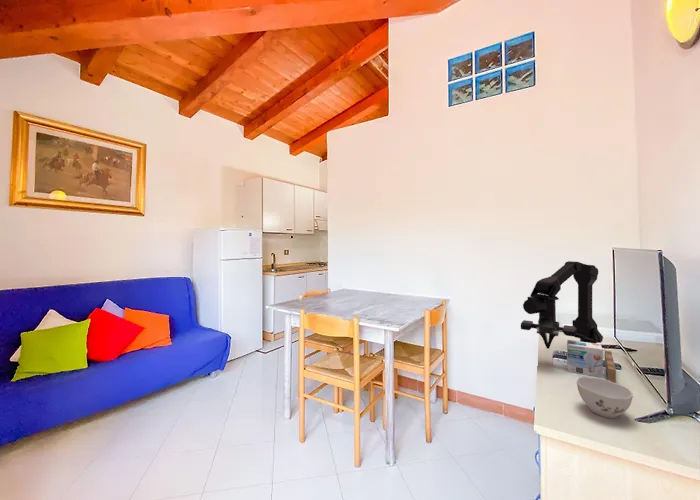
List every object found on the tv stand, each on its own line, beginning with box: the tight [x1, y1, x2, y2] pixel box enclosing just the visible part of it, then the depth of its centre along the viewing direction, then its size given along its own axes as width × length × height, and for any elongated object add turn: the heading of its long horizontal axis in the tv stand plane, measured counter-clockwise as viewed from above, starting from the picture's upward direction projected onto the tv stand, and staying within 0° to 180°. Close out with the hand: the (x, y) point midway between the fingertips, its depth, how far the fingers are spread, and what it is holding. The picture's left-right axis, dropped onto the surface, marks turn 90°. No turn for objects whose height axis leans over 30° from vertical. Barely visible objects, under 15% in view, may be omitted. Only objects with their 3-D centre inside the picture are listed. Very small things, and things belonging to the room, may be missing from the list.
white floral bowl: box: [576, 376, 634, 419], centre depth 86 cm, size 15×12×8 cm
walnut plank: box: [604, 350, 617, 383], centre depth 107 cm, size 20×2×6 cm, turn 141°
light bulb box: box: [566, 339, 604, 379], centre depth 111 cm, size 11×7×11 cm, turn 55°
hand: (548, 348), depth 119 cm, fingers closed
